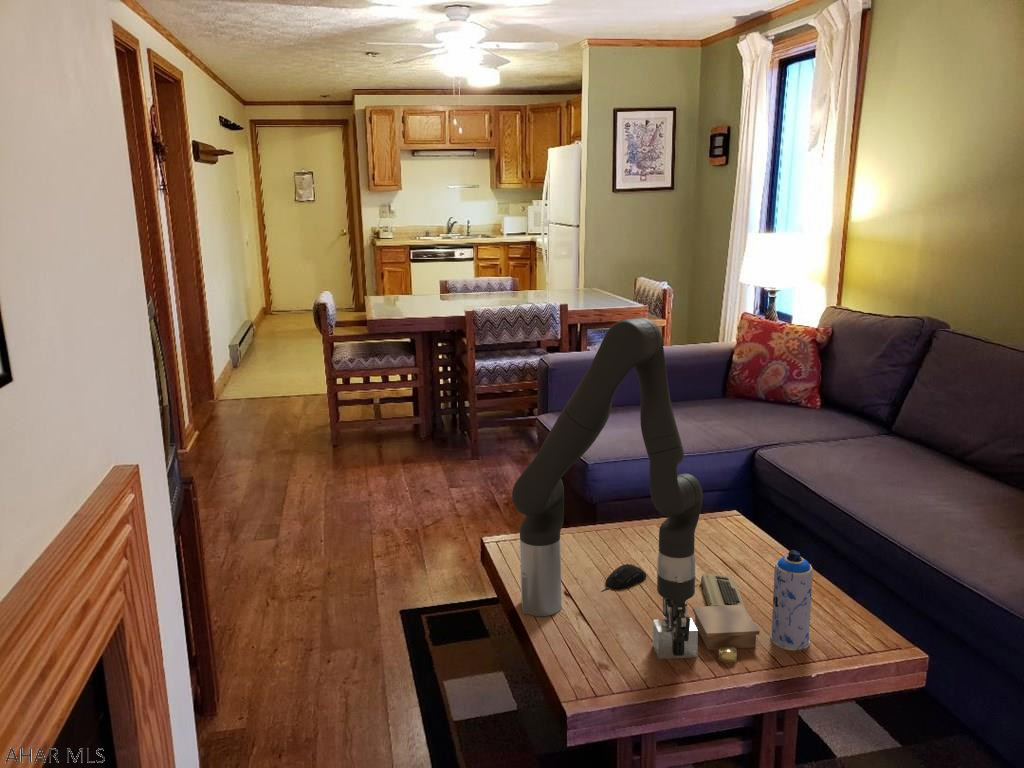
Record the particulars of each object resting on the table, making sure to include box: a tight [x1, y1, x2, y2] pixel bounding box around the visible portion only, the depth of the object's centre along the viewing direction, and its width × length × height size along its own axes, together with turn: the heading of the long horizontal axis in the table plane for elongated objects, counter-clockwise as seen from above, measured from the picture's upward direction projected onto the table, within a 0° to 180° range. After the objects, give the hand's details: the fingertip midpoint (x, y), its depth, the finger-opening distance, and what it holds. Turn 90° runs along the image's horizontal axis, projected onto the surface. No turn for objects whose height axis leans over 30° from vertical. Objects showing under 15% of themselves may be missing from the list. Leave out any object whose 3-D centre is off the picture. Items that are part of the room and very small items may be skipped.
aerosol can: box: [770, 549, 814, 651], centre depth 161 cm, size 8×8×20 cm
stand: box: [692, 605, 761, 651], centre depth 166 cm, size 11×11×4 cm
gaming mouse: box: [600, 563, 647, 593], centre depth 191 cm, size 6×15×4 cm, turn 129°
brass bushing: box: [717, 645, 738, 665], centre depth 158 cm, size 4×4×2 cm
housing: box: [652, 617, 699, 660], centre depth 160 cm, size 8×5×7 cm, turn 92°
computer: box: [700, 573, 747, 611], centre depth 181 cm, size 16×8×3 cm, turn 174°
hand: (675, 646), depth 161 cm, fingers closed on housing, 5 cm apart
